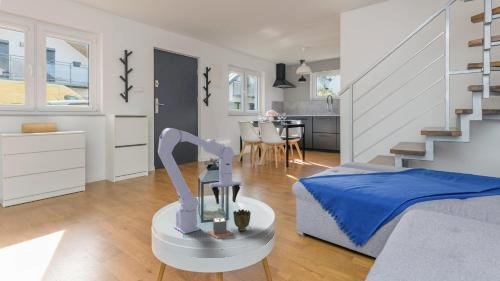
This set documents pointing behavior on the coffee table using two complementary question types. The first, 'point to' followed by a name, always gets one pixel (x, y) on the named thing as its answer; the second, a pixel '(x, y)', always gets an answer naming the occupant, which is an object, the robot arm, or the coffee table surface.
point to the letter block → (219, 226)
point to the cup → (242, 219)
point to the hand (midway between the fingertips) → (225, 202)
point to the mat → (219, 234)
